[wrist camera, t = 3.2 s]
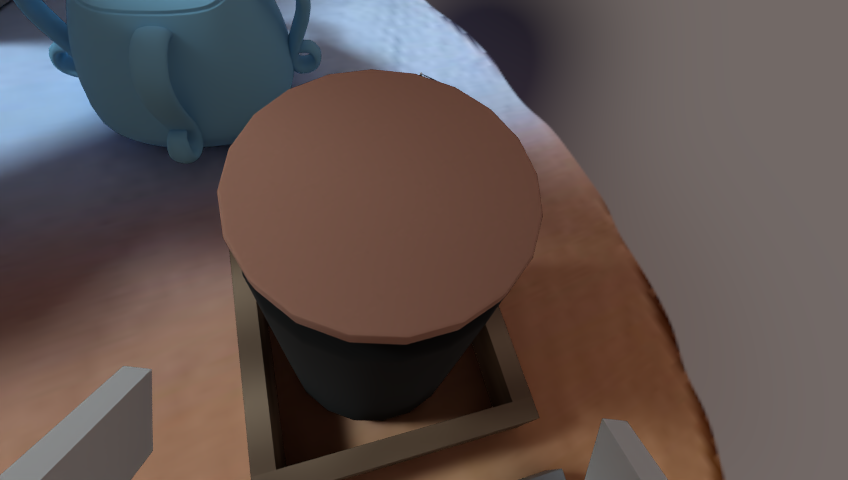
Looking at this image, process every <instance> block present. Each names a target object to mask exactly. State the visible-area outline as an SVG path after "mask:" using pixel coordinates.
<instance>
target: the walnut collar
mask: <svg viewBox="0 0 848 480" xmlns="http://www.w3.org/2000/svg"><path fill="white" fill-rule="evenodd" d="M229 252H230V262H231V273H232V283H233V294H234V304H235V315H236V326H237V336H238V347H239V357H240V368H241V379H242V389H243V400H244V410H245V421H246V431H247V442H248V453H249V463H250V474H251V480H344V479H347V478H350V477H353V476H357V475H360V474H363V473H367V472H370V471H373V470H377V469H380V468H383V467H387V466H390V465H393V464H396V463H400V462H403V461H406V460H410V459H413V458H416V457H420V456H423V455H426V454H429V453H433V452H436V451H439V450H443V449H446V448H449V447H453V446H456V445H459V444H463V443H466V442H469V441H472V440H476V439H479V438H482V437H486V436H489V435H492V434H496V433H499V432H502V431H506V430H509V429H512V428H515V427H519V426H521V425H523V424H526V423H528V422H531V421H533V420H536V419H538V418H539V415H538V412H537V409H536V407H535V404H534V401H533V399H532V396H531V393H530V390H529V388H528V385H527V382H526V379H525V377H524V374H523V371H522V369H521V366H520V363H519V360H518V358H517V355H516V352H515V350H514V347H513V344H512V341H511V339H510V336H509V333H508V330H507V328H506V325H505V322H504V320H503V317H502V314H501V311H500V309H499V306H498V307H497V308H496V310H495V311H494V313H493V314H492V315H491V317H490V318H489V320H488V321H487V323H486V324H485V325H484V327H483V328H482V329H481V331H480V332H479V333H478V335H477V336H476V337H475V339H474V340H473V341H472V345H473V348H474V351H475V355H476V358H477V361H478V364H479V367H480V370H481V373H482V376H483V379H484V382H485V385H486V388H487V391H488V394H489V397H490V400H491V403H492V407H493V408H489V409H486V410H482V411H479V412H475V413H472V414H469V415H465V416H462V417H458V418H455V419H451V420H448V421H444V422H441V423H437V424H434V425H430V426H427V427H423V428H420V429H416V430H413V431H409V432H406V433H402V434H399V435H395V436H392V437H389V438H385V439H382V440H378V441H375V442H371V443H368V444H364V445H361V446H357V447H354V448H350V449H347V450H343V451H340V452H336V453H333V454H329V455H326V456H322V457H319V458H316V459H312V460H309V461H305V462H302V463H298V464H295V465H291V466H288V467H286V462H285V454H284V446H283V438H282V430H281V422H280V415H279V407H278V399H277V391H276V383H275V375H274V367H273V359H272V351H271V344H270V336H269V328H268V322H267V320H266V318H265V316H264V314H263V312H262V310H261V309H260V307H259V305H258V303H257V301H256V299H255V297H254V296H253V294H252V292H251V290H250V288H249V286H248V284H247V283H246V281H245V279H244V277H243V275H242V270H241V268H240V266H239V264H238V263H237V261H236V259H235V257H234V256H233V254H232V252H231V251H230V249H229Z"/></svg>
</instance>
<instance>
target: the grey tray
mask: <svg viewBox="0 0 848 480" xmlns="http://www.w3.org/2000/svg"><path fill="white" fill-rule="evenodd" d="M519 480H566V479H565V476H564V473H563V470H562V469H554V470H546V471H543V472H540V473H537V474H534V475H531V476H528V477H525V478H522V479H519Z"/></svg>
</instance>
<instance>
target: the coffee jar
mask: <svg viewBox="0 0 848 480" xmlns="http://www.w3.org/2000/svg"><path fill="white" fill-rule="evenodd" d="M217 196H218V203H219V211H220V218H221V226H222V233H223V239H224V240H225V242H226V244H227V245H228V247H229V249H230V251H231V252H232V254H233V256H234V257H235V259H236V261H237V263H238V264H239V266H240V268H241V270H242V275H243V277H244V279H245V281H246V283H247V284H248V286H249V288H250V290H251V292H252V294H253V296H254V297H255V299H256V301H257V303H258V305H259V307H260V309H261V310H262V312H263V314H264V316H265V318H266V320H267V322H268V323H269V325H270V327H271V329H272V331H273V333H274V335H275V336H276V338H277V340H278V342H279V344H280V346H281V348H282V349H283V351H284V353H285V355H286V357H287V359H288V361H289V362H290V364H291V366H292V368H293V370H294V372H295V373H296V375H297V377H298V378H299V380H300V382H301V384H302V385H303V387H304V389H305V391H306V392H307V393H308V394H309V395H310V396H311V397H313V398H314V399H315V400H316V401H317V402H319V403H320V404H321V405H322V406H323V407H324V408H326V409H327V410H328V411H331V412H334V413H336V414H339V415H342V416H344V417H347V418H350V419H352V420H372V421H383V420H386V419H389V418H393V417H396V416H399V415H402V414H405V413H408V412H410V411H411V410H413V409H414V408H416V407H417V406H418V405H420V404H421V403H422V402H424V401H425V400H426V399H428V398H429V397H431V396H432V394H433V393H434V392H435V390H436V389H437V388H438V386H439V385H440V384H441V382H442V381H443V380H444V378H445V377H446V376H447V374H448V373H449V372H450V370H451V369H452V368H453V366H454V365H455V364H456V363H457V361H458V360H459V359H460V357H461V356H462V355H463V353H464V352H465V351H466V349H467V348H468V347H469V345H470V344H471V343H472V341H473V340H474V339H475V337H476V336H477V335H478V333H479V332H480V331H481V329H482V328H483V327H484V325H485V324H486V323H487V321H488V320H489V318H490V317H491V315H492V314H493V313H494V311H495V310H496V308H497V307H498V305H499V304H500V303H501V301H502V300H503V298H504V297H505V296H506V295H507V294H508V292H509V291H510V290H511V288H512V287H513V285H514V284H515V282H516V281H517V280H518V278H519V277H520V275H521V274H522V272H523V271H524V269H525V268H526V267H527V265H528V264H529V262H530V261H531V259H532V258H533V255H534V251H535V246H536V242H537V238H538V234H539V229H540V225H541V221H542V217H543V213H542V206H541V199H540V192H539V185H538V177H537V173H536V171H535V169H534V167H533V165H532V163H531V161H530V160H529V158H528V156H527V154H526V152H525V150H524V148H523V146H522V144H521V142H520V140H519V138H518V137H517V136H516V135H515V134H514V133H513V132H512V131H511V130H510V129H509V128H508V127H507V126H506V125H505V124H504V123H503V122H502V121H501V120H500V119H499V117H498V116H497V115H496V114H495V113H494V112H493V111H492V110H491V109H489V108H488V107H486V106H485V105H483V104H481V103H480V102H478V101H476V100H475V99H473V98H472V97H470V96H468V95H467V94H465V93H463V92H462V91H460V90H459V89H457V88H455V87H453V86H450V85H447V84H444V83H441V82H438V81H435V80H432V79H429V78H426V77H423V76H420V75H417V74H412V73H402V72H393V71H383V70H373V69H370V70H362V71H354V72H345V73H337V74H329V75H326V76H323V77H321V78H318V79H315V80H313V81H310V82H307V83H304V84H302V85H299V86H296V87H294V88H291V89H288V90H287V91H286V92H284V93H283V94H281V95H280V96H279V97H277V98H276V99H275V100H273V101H272V102H270V103H269V104H268V105H266V106H265V107H263V108H262V109H261V110H259V111H258V112H257V113H255V114H254V115H253V116H252V118H251V119H250V120H249V122H248V123H247V124H246V126H245V127H244V129H243V130H242V131H241V133H240V134H239V135H238V137H237V138H236V139H235V141H234V142H233V144H232V145H231V146H230V148H229V150H228V153H227V157H226V161H225V164H224V168H223V172H222V175H221V179H220V183H219V186H218V190H217Z"/></svg>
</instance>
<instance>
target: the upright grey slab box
mask: <svg viewBox="0 0 848 480" xmlns="http://www.w3.org/2000/svg"><path fill="white" fill-rule="evenodd" d="M9 1H10V0H0V7H1V6H2V5H4V4H5V3H7V2H9Z"/></svg>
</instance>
